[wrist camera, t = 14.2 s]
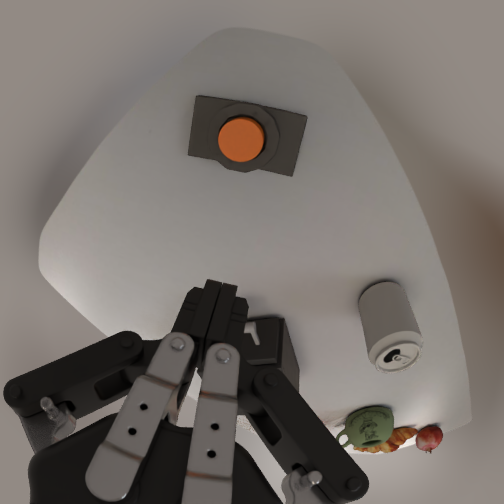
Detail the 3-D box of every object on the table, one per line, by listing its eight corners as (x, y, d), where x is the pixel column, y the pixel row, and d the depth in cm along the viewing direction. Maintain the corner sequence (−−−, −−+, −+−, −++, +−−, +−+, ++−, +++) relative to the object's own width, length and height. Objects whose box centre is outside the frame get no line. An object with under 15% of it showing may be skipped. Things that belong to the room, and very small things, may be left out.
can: (372, 272, 38) (392, 337, 28) (412, 284, 39) (437, 345, 29) (349, 309, 43) (359, 374, 33) (388, 319, 43) (404, 379, 33)
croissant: (355, 436, 78) (359, 456, 73) (347, 442, 70) (351, 464, 66) (416, 418, 69) (420, 439, 65) (414, 423, 62) (419, 447, 57)
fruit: (440, 427, 68) (445, 451, 60) (415, 436, 72) (419, 461, 64) (440, 419, 65) (445, 445, 56) (412, 429, 68) (416, 456, 60)
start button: (218, 153, 30) (214, 157, 28) (225, 113, 27) (222, 115, 26) (259, 161, 30) (258, 166, 28) (268, 121, 27) (267, 123, 26)
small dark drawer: (199, 306, 44) (186, 344, 38) (272, 297, 42) (268, 338, 35) (235, 371, 53) (228, 405, 47) (294, 367, 50) (292, 403, 44)
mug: (386, 398, 57) (390, 429, 50) (397, 414, 62) (401, 442, 55) (325, 416, 63) (325, 446, 56) (343, 430, 68) (344, 457, 61)
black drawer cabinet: (210, 326, 48) (196, 372, 40) (284, 318, 45) (281, 368, 37) (236, 374, 55) (229, 415, 47) (299, 369, 52) (298, 413, 44)
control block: (190, 154, 33) (182, 160, 30) (199, 93, 28) (190, 95, 26) (291, 175, 33) (291, 183, 30) (307, 114, 29) (309, 117, 26)
